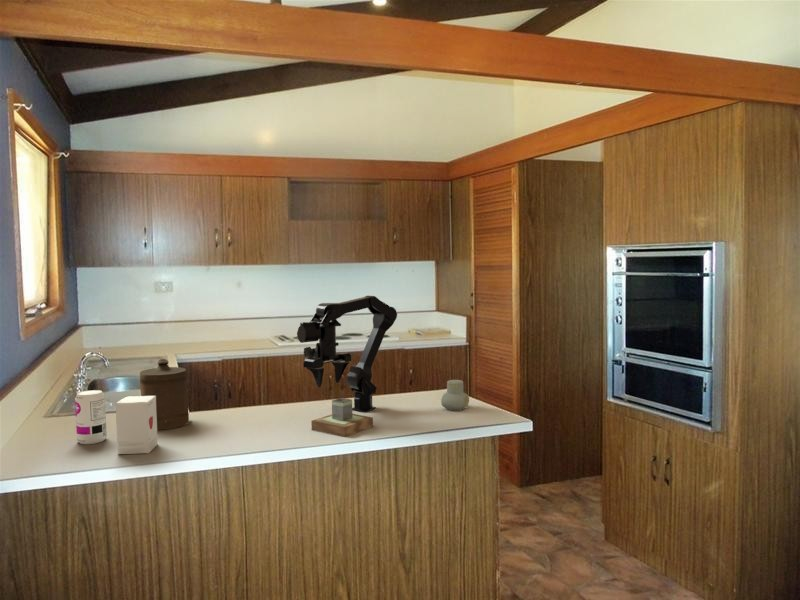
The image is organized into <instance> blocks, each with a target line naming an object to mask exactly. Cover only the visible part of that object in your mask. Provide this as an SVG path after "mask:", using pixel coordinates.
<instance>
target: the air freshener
mask: <svg viewBox="0 0 800 600" xmlns="http://www.w3.org/2000/svg"><path fill="white" fill-rule="evenodd" d="M469 396H470V395H468V394H467V393H466V392H465V391H464V381H463V380H461V379H449V380H447V381H446V392H445V393H443V394H442V396H441V399H440V402H441V406H442V407H443V408H445V409H446V410H450V411H463V410H464V409H466V408H467V407H468V406H469V404H470V397H469Z"/></svg>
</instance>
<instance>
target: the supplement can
mask: <svg viewBox="0 0 800 600" xmlns="http://www.w3.org/2000/svg"><path fill="white" fill-rule="evenodd" d="M74 404H75V405H74V409H75V425H76V426H75V428H76V441H77V442H78V443H79V444H81V445H94V444H98V443H99V444H100V443H102V442H103V441H105V440H106V439H107V437H108V436H107V435H108V434H107V433H108V432H107V417H106V416H107V415H106V396H105V394H104V392H103V391H102V390H99V389H93V390H89V389H88V390H83V391H79V392H77V393H76V396H75V398H74Z"/></svg>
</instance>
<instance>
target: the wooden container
mask: <svg viewBox="0 0 800 600" xmlns="http://www.w3.org/2000/svg"><path fill="white" fill-rule="evenodd" d="M187 382H188V380H187V369H186V368H184V367H180V366H170V365H169V360H168V359H166V358H160V359H159V360H157V367H154V368H153V367H152V368H148V369H147V368H146V369H144V370H141V371H140V372H139V383H140V384H139V385H140V386H139V390H140V392H139V393H140V395H139V396H156V415H157V431H163V430H171V429H172V430H173V429H177V428H180V427H183V426H186V425H188V424H189V422H190V419H189V415H190V414H189V397H188V385H187Z"/></svg>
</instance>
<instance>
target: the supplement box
mask: <svg viewBox="0 0 800 600" xmlns="http://www.w3.org/2000/svg"><path fill="white" fill-rule="evenodd" d="M115 417H116V419H115V420H116V444H117V448H116V449H117V455H135V454H138V455H139V454H150V452H152V451H153V450H154V449H155V447H157V446H158V445H159V444H158V430H157V415H156V396H140V395H137V396H130V395H129V396H126V397H123V398H122V399H120V400H118V401H117V402H116V403H115Z"/></svg>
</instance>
